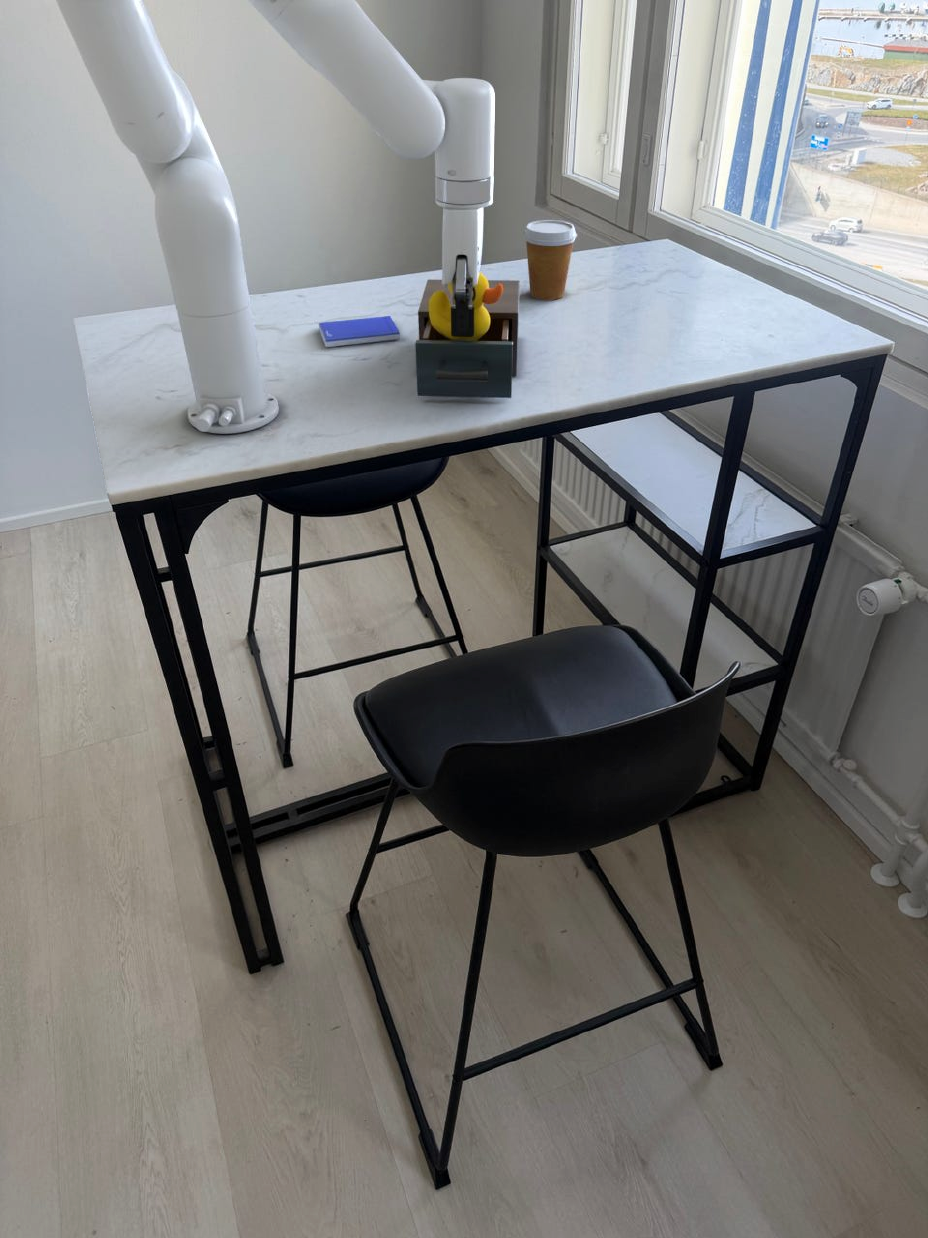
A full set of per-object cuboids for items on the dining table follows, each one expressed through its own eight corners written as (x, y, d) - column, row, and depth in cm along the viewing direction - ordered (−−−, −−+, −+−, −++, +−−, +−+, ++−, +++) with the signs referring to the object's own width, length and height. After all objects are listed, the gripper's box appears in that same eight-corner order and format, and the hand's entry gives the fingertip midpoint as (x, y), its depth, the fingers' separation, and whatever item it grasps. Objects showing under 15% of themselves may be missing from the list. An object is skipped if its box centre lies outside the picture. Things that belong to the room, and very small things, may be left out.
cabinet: (516, 376, 133) (518, 312, 127) (420, 374, 134) (417, 311, 127) (517, 340, 144) (519, 280, 138) (429, 339, 145) (427, 279, 139)
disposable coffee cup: (574, 302, 158) (579, 233, 151) (522, 303, 158) (524, 233, 151) (570, 286, 166) (574, 219, 158) (520, 286, 166) (522, 219, 158)
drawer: (510, 413, 121) (511, 359, 116) (413, 412, 121) (410, 357, 116) (513, 360, 135) (514, 310, 130) (426, 359, 136) (424, 308, 131)
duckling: (508, 341, 125) (511, 270, 119) (492, 354, 121) (494, 281, 115) (440, 328, 129) (439, 258, 123) (422, 340, 125) (420, 268, 119)
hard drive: (325, 339, 141) (399, 331, 144) (318, 321, 147) (389, 314, 150) (326, 348, 142) (400, 340, 145) (319, 330, 148) (390, 323, 151)
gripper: (441, 175, 120) (443, 306, 131) (429, 206, 106) (432, 349, 118) (495, 175, 119) (492, 307, 131) (490, 207, 106) (487, 351, 117)
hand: (464, 326), depth 124 cm, fingers closed on duckling, 5 cm apart
